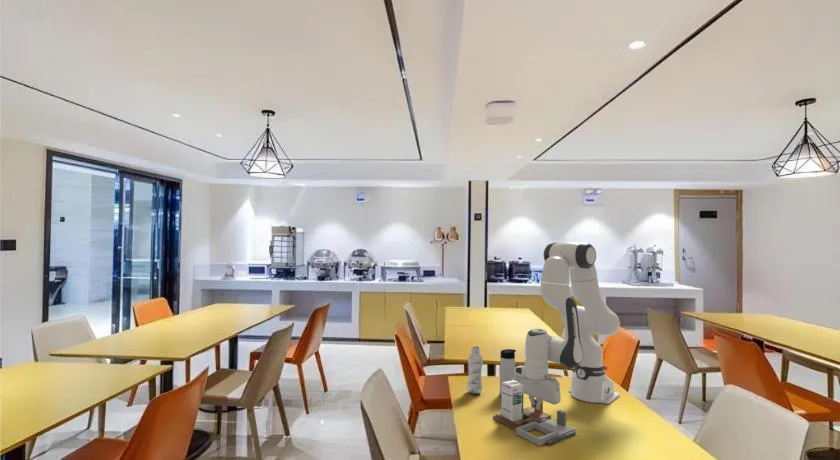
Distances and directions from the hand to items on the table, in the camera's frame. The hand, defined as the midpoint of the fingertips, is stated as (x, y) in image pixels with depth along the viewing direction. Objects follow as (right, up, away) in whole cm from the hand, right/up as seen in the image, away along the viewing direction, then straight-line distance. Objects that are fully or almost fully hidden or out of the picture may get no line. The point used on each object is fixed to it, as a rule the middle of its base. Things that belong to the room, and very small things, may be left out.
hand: (535, 408), depth 159 cm
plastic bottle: (-21, -3, +22) cm, 30 cm away
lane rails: (-4, -2, -10) cm, 11 cm away
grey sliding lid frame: (-1, -2, -15) cm, 16 cm away
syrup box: (-11, -2, -8) cm, 13 cm away
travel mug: (-7, -3, +20) cm, 21 cm away
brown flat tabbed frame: (-6, -2, -4) cm, 8 cm away
